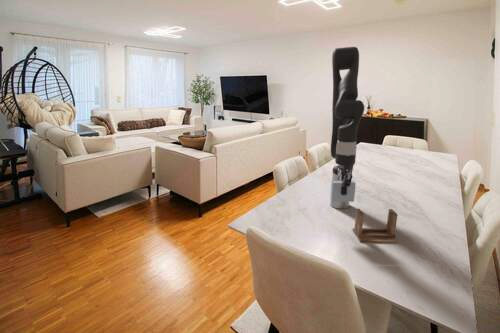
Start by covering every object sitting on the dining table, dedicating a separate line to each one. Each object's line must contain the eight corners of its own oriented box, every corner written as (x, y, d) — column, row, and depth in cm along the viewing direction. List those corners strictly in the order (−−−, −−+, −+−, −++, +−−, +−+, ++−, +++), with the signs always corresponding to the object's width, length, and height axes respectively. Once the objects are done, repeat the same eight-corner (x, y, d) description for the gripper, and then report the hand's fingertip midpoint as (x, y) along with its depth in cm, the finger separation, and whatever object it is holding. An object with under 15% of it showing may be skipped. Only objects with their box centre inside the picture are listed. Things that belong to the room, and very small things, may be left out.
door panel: (330, 199, 122) (331, 180, 119) (352, 199, 121) (353, 180, 119) (331, 201, 119) (332, 182, 117) (353, 201, 119) (355, 182, 117)
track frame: (352, 230, 123) (354, 206, 120) (386, 230, 122) (389, 206, 119) (359, 242, 113) (362, 216, 110) (396, 242, 113) (400, 217, 110)
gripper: (332, 148, 121) (329, 187, 126) (340, 156, 108) (337, 199, 113) (350, 148, 121) (347, 187, 126) (361, 156, 108) (357, 199, 112)
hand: (342, 193), depth 119 cm, fingers closed on door panel, 2 cm apart
